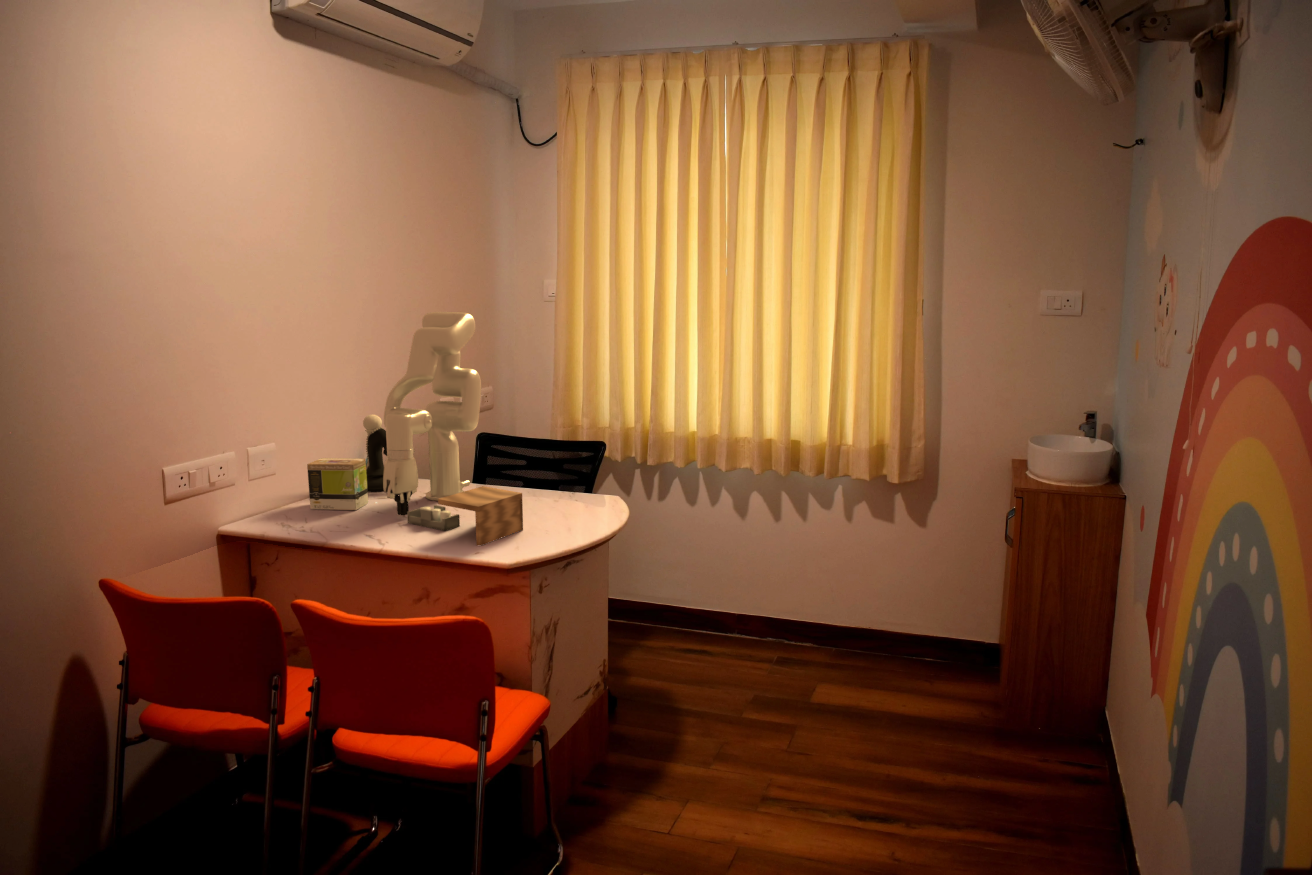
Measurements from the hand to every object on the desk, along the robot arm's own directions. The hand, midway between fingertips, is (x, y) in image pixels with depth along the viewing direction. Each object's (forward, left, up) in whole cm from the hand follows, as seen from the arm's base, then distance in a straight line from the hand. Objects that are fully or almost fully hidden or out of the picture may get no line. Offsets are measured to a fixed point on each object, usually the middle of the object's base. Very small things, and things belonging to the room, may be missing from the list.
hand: (403, 514), depth 273 cm
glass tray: (0, +12, -1) cm, 12 cm away
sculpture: (-24, -34, -2) cm, 41 cm away
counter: (-1, +30, -1) cm, 31 cm away
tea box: (+1, -28, -2) cm, 28 cm away
